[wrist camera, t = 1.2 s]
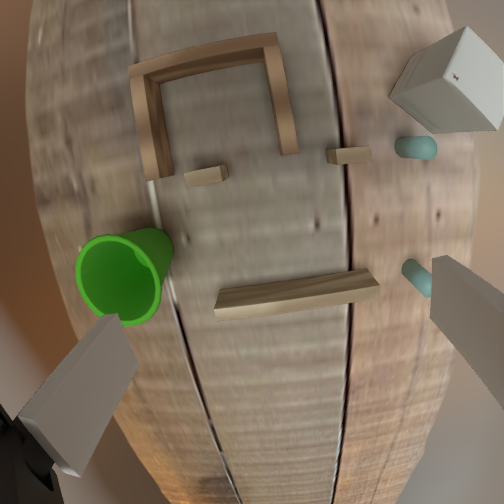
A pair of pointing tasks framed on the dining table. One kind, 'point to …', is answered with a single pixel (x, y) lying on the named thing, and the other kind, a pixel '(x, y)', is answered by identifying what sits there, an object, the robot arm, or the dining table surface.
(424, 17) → the dining table surface
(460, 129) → the supplement box
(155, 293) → the cup
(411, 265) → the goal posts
